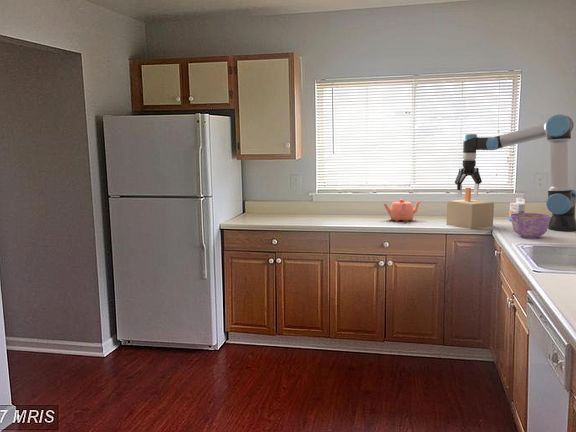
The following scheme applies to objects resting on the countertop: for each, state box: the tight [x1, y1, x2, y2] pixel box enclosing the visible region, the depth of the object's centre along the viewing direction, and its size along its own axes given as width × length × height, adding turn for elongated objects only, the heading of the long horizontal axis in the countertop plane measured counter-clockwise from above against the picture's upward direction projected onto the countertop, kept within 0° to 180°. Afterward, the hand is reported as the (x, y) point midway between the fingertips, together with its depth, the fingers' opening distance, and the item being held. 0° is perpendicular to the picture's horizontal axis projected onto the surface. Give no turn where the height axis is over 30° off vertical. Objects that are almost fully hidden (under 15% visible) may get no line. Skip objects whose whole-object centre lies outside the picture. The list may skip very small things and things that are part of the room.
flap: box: [447, 187, 481, 203], centre depth 331 cm, size 10×18×8 cm, turn 118°
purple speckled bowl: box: [510, 212, 552, 239], centre depth 288 cm, size 20×20×12 cm
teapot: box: [383, 198, 422, 223], centre depth 351 cm, size 18×18×14 cm
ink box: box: [508, 197, 526, 222], centre depth 342 cm, size 8×5×15 cm, turn 17°
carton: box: [445, 200, 495, 230], centre depth 328 cm, size 20×18×14 cm
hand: (467, 195), depth 329 cm, fingers open, 13 cm apart
